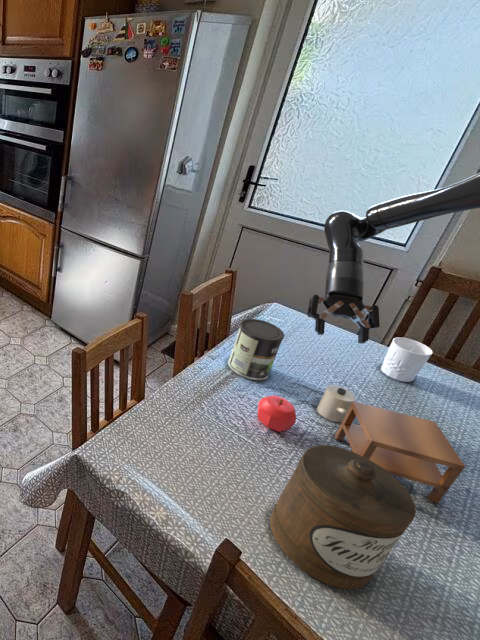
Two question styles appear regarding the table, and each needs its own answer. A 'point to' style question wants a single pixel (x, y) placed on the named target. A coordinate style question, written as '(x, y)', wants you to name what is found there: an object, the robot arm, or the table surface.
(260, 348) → the coffee can
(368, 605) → the table surface
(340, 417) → the kettle
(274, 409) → the apple
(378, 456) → the stand
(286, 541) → the wooden container
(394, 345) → the white cup
